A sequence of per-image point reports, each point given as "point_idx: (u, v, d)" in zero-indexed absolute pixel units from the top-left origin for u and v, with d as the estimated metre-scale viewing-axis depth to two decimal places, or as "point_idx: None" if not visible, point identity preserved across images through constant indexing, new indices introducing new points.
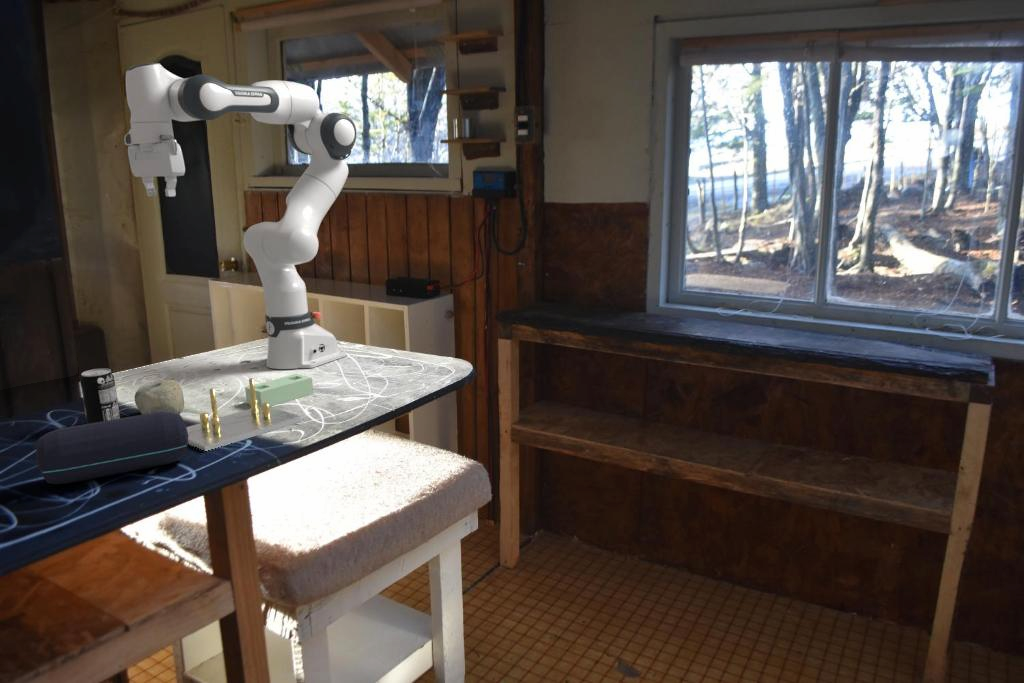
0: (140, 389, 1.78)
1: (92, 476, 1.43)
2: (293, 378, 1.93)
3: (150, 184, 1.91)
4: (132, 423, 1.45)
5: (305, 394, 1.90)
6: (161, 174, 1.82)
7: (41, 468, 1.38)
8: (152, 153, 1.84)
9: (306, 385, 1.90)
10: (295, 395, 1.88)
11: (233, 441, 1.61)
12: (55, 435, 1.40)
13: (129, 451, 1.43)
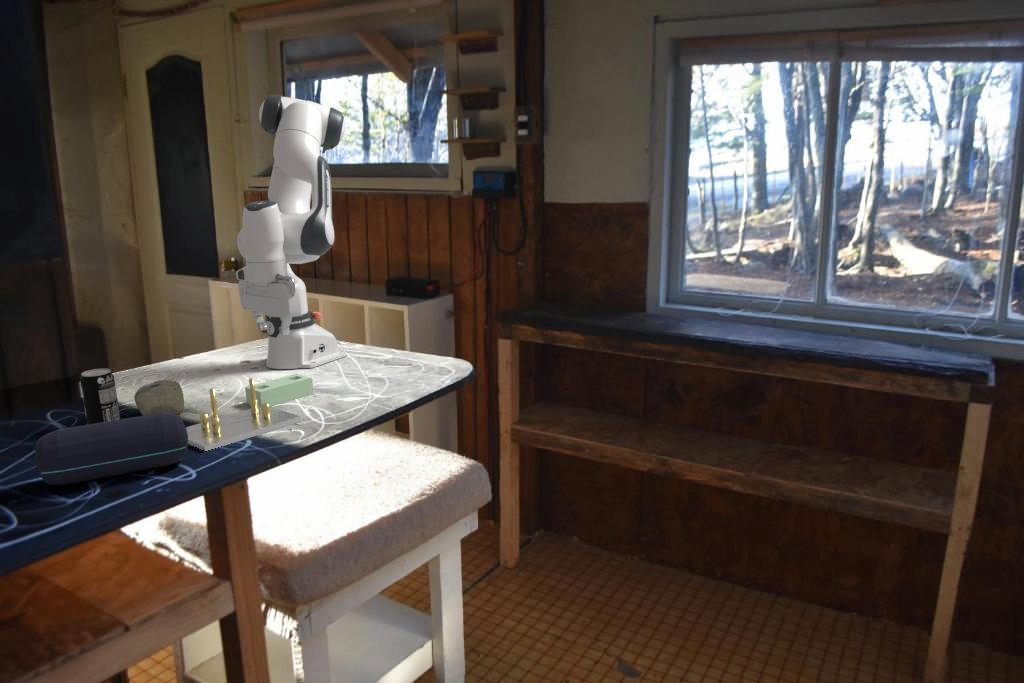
0: (140, 389, 1.78)
1: (91, 477, 1.42)
2: (293, 378, 1.93)
3: (260, 317, 1.88)
4: (131, 424, 1.45)
5: (305, 394, 1.90)
6: (277, 314, 1.79)
7: (40, 469, 1.38)
8: (267, 291, 1.81)
9: (306, 385, 1.90)
10: (295, 395, 1.88)
11: (233, 441, 1.61)
12: (54, 435, 1.40)
13: (128, 453, 1.43)
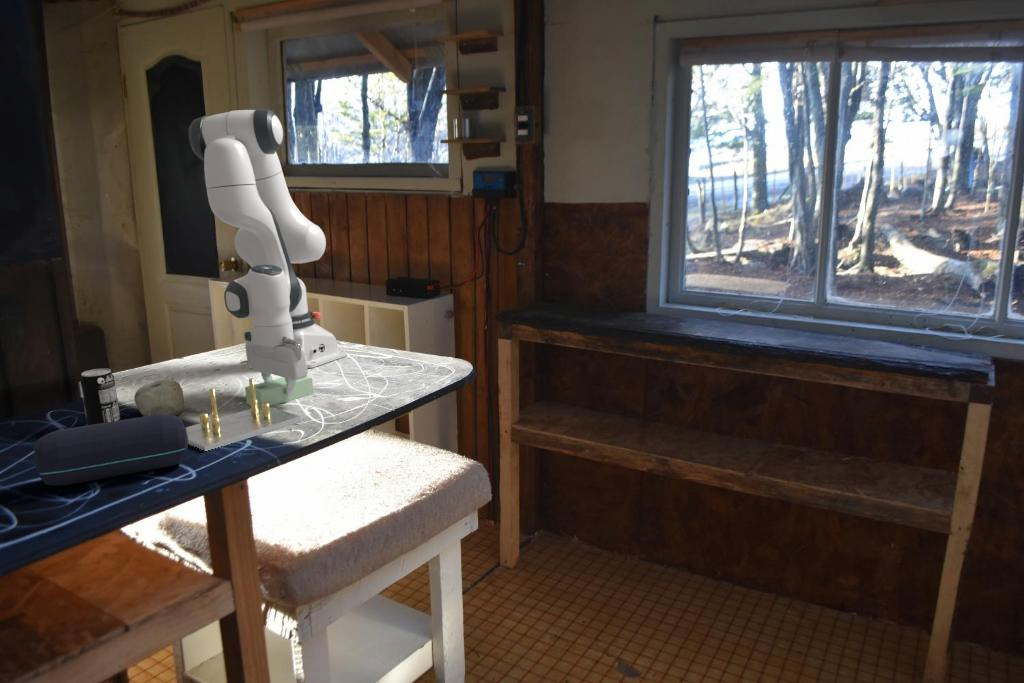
0: (140, 389, 1.78)
1: (90, 478, 1.42)
2: None
3: (269, 377, 1.91)
4: (131, 425, 1.44)
5: (305, 394, 1.90)
6: (283, 376, 1.83)
7: (39, 470, 1.37)
8: (273, 353, 1.84)
9: (306, 385, 1.90)
10: (295, 395, 1.88)
11: (233, 441, 1.61)
12: (53, 436, 1.40)
13: (127, 454, 1.42)
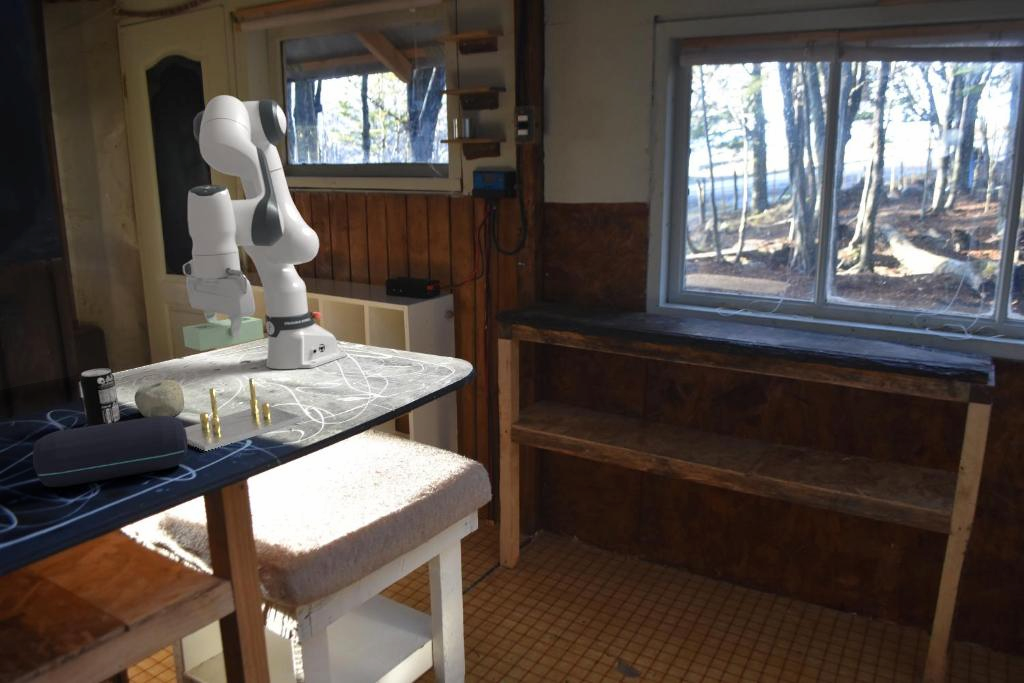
0: (140, 389, 1.78)
1: (89, 480, 1.41)
2: None
3: (213, 318, 1.66)
4: (130, 426, 1.43)
5: (254, 338, 1.65)
6: (227, 313, 1.58)
7: (37, 471, 1.37)
8: (216, 288, 1.59)
9: (255, 327, 1.65)
10: (241, 337, 1.63)
11: (233, 441, 1.61)
12: (52, 437, 1.39)
13: (126, 456, 1.41)
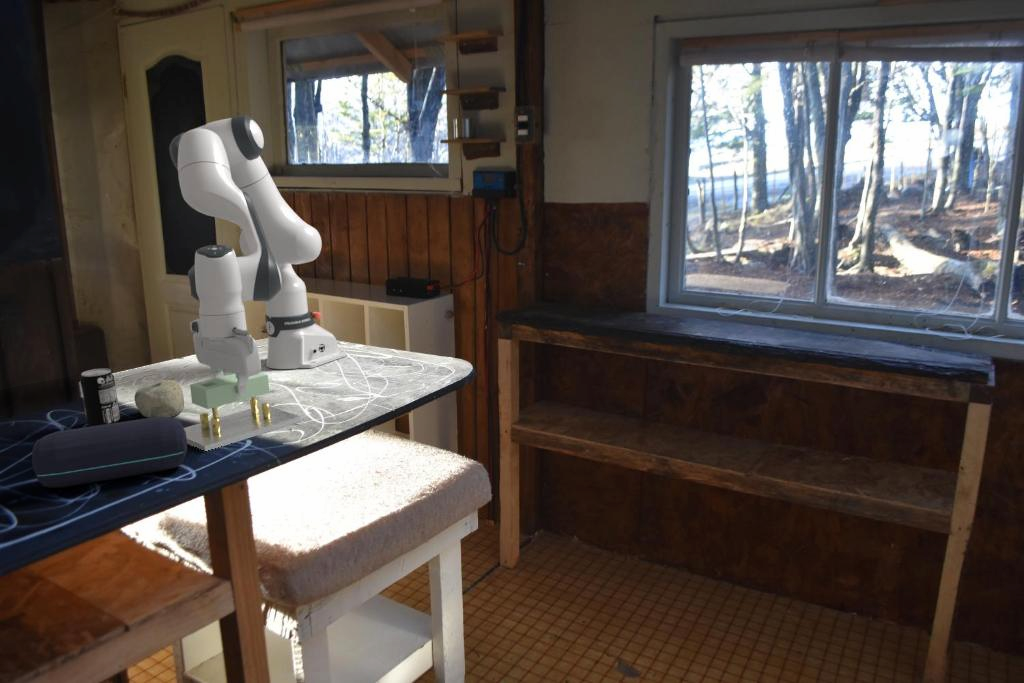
0: (140, 389, 1.78)
1: (88, 481, 1.41)
2: None
3: (219, 373, 1.69)
4: (129, 427, 1.43)
5: (259, 393, 1.68)
6: (234, 372, 1.61)
7: (36, 471, 1.37)
8: (223, 346, 1.62)
9: (261, 383, 1.68)
10: (247, 394, 1.66)
11: (233, 441, 1.61)
12: (51, 438, 1.39)
13: (125, 457, 1.41)
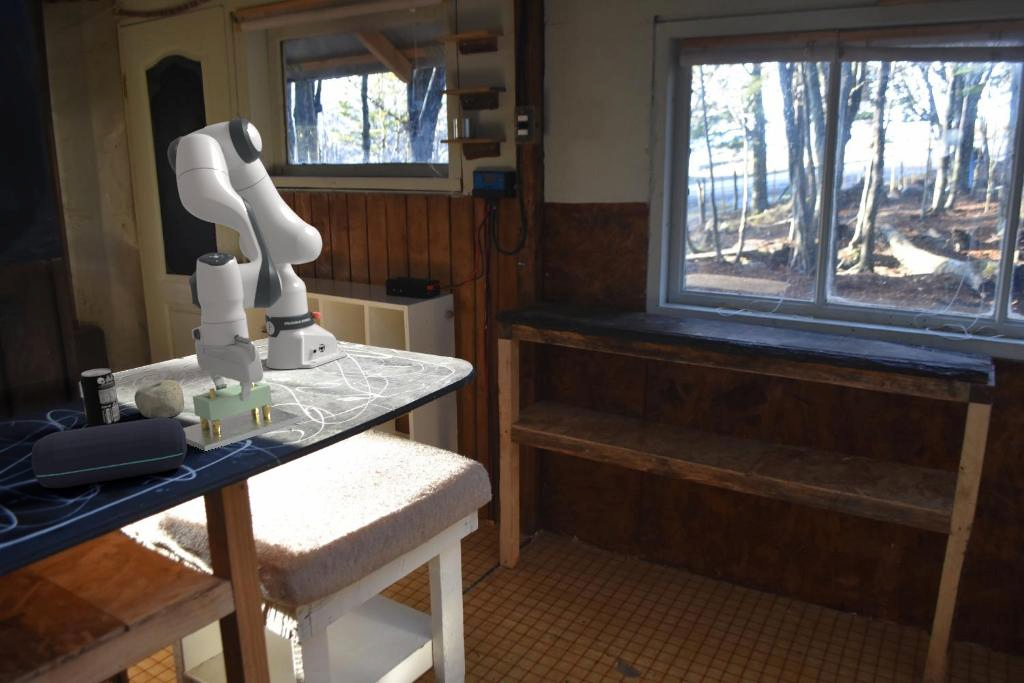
0: (140, 389, 1.78)
1: (87, 481, 1.40)
2: None
3: (220, 380, 1.70)
4: (128, 428, 1.42)
5: (262, 404, 1.69)
6: (236, 379, 1.61)
7: (35, 472, 1.36)
8: (225, 354, 1.63)
9: (263, 394, 1.69)
10: (250, 405, 1.67)
11: (233, 441, 1.61)
12: (50, 438, 1.38)
13: (124, 458, 1.40)
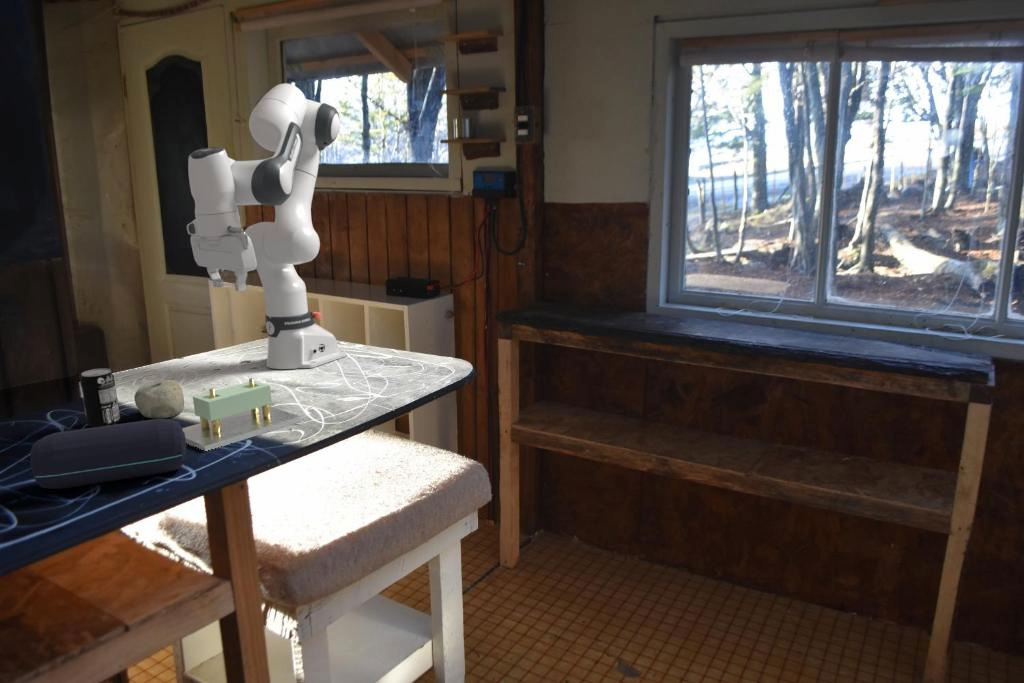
0: (140, 389, 1.78)
1: (86, 482, 1.40)
2: (249, 386, 1.71)
3: (216, 274, 1.77)
4: (127, 429, 1.42)
5: (262, 404, 1.69)
6: (231, 269, 1.68)
7: (34, 473, 1.36)
8: (219, 245, 1.69)
9: (263, 394, 1.69)
10: (250, 405, 1.67)
11: (233, 441, 1.61)
12: (49, 439, 1.38)
13: (122, 459, 1.40)
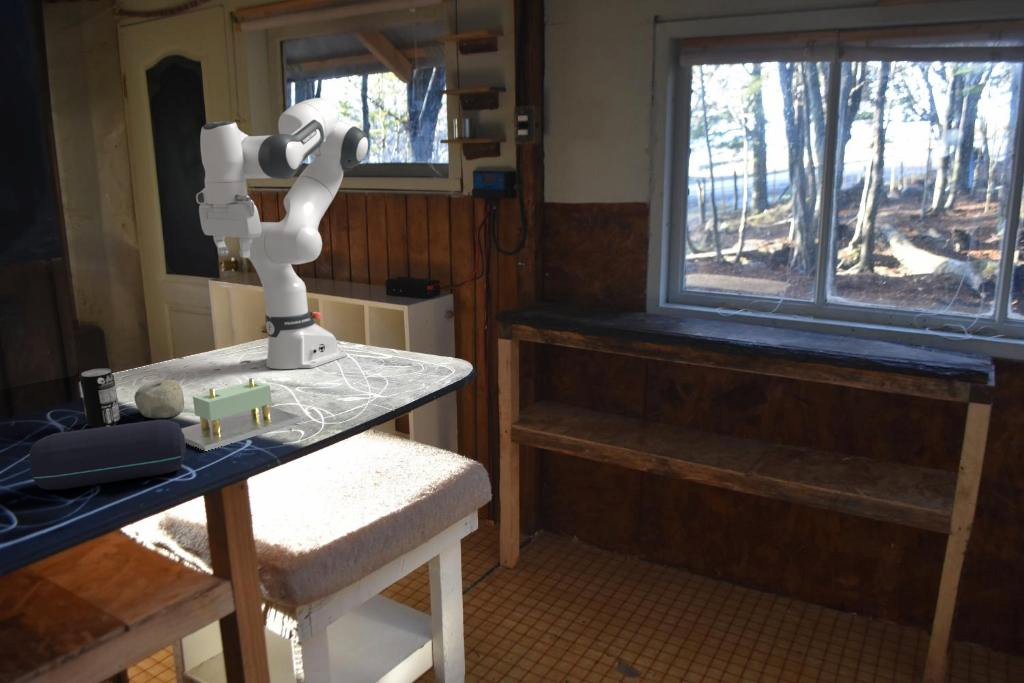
0: (140, 389, 1.78)
1: (85, 483, 1.40)
2: (249, 386, 1.71)
3: (221, 243, 1.86)
4: (126, 430, 1.41)
5: (262, 404, 1.69)
6: (236, 235, 1.77)
7: (32, 473, 1.36)
8: (226, 213, 1.78)
9: (263, 394, 1.69)
10: (250, 405, 1.67)
11: (233, 441, 1.61)
12: (48, 440, 1.38)
13: (121, 460, 1.39)
